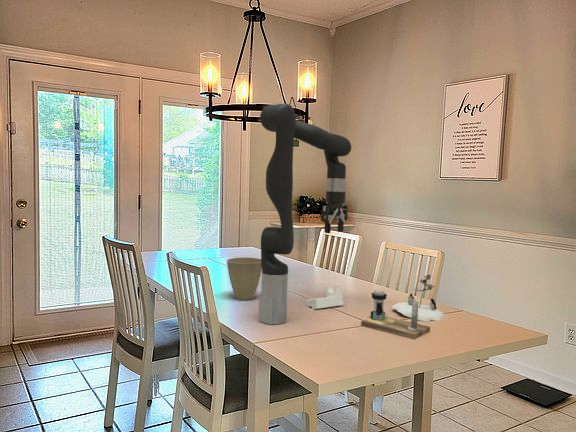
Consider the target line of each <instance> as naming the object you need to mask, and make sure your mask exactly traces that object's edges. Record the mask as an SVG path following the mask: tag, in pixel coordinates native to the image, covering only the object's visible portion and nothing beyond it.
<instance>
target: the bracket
mask: <svg viewBox="0 0 576 432" xmlns="http://www.w3.org/2000/svg"><path fill="white" fill-rule="evenodd" d="M325 293H326V297H320V298H319V297H317V298H312V299H311V298H309V299H305V305H306V307H307V308H308V307H311V309H313V310H316V309H323V308H331V307H337V306H344V296H343V295H344V294H343V288H342V285H339V286H334V288H333V286H327V287H325Z"/></svg>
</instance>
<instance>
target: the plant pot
mask: <svg viewBox="0 0 576 432" xmlns="http://www.w3.org/2000/svg"><path fill="white" fill-rule="evenodd" d="M226 264H227V265H226V266H227V271H228V272H227V273H228V277H229V281H230V285H231V288H232V292H233V295H234V297H235V299H236V298H237V299H236V300H239V299H241V300H240V301H249V299H250V300H252V299H254V297H255V295H256V292H257V289H258V286H259V282H260V279H261V276H262V266H261V258H257V257H248V256H247V257H245V256H244V257H243V256H241V257H231V258H227V259H226Z"/></svg>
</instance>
